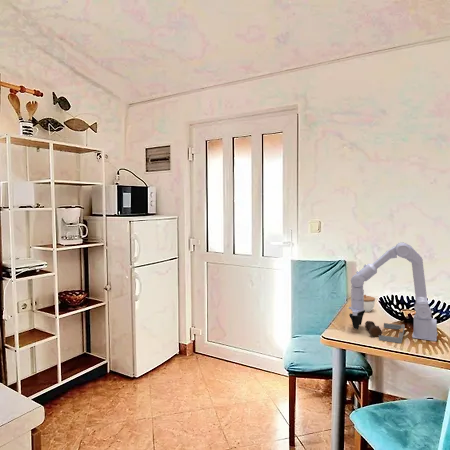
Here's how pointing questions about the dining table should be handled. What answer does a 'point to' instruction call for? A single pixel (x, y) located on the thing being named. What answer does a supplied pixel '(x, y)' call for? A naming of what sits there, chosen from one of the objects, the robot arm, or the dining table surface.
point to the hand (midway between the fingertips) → (357, 326)
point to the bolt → (373, 329)
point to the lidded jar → (368, 303)
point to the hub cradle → (393, 339)
